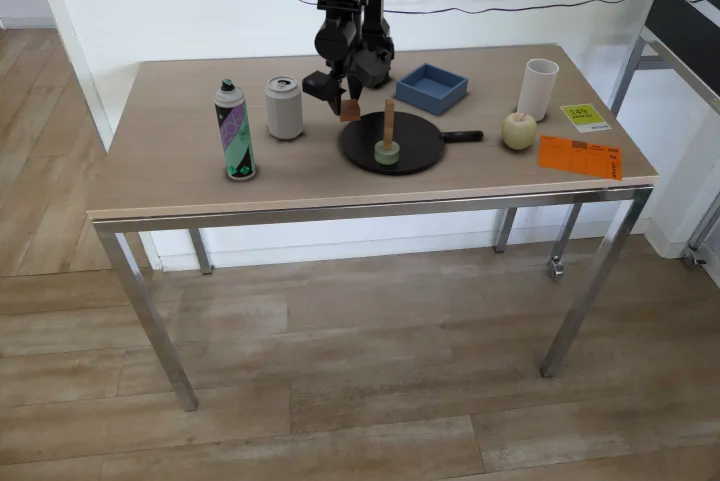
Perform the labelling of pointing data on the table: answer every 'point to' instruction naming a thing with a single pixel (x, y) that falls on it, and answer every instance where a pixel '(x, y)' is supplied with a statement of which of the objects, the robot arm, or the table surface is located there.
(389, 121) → the dish brush
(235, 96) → the spray can
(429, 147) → the griddle pan
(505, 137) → the fruit
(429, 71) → the bin
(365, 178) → the table surface
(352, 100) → the reddish brown square block
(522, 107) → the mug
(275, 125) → the can
